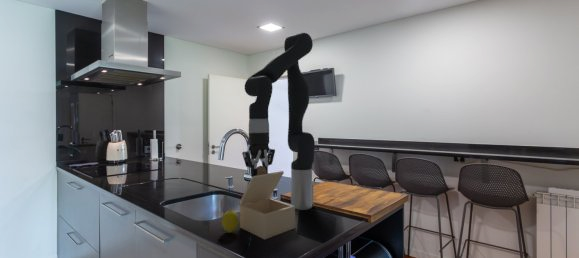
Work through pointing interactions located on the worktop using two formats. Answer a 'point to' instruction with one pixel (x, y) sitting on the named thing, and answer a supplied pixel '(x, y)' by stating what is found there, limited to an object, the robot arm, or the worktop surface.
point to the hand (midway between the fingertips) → (259, 177)
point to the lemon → (230, 221)
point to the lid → (261, 186)
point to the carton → (267, 217)
